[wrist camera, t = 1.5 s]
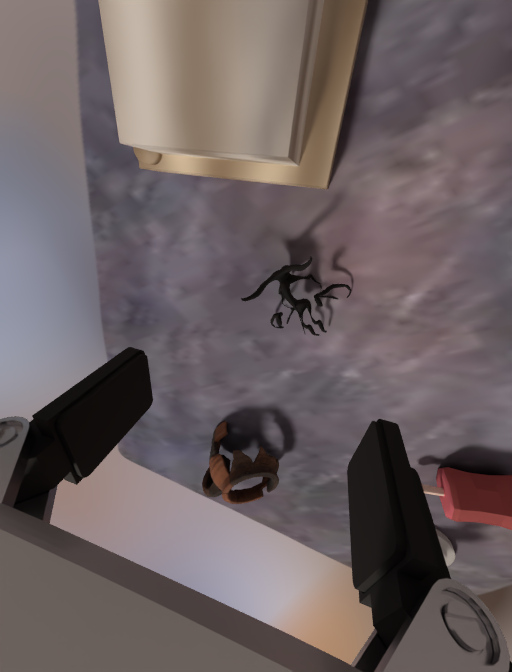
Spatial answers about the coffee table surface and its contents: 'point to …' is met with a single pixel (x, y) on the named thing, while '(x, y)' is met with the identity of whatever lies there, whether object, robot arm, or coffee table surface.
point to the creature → (284, 289)
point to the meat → (474, 496)
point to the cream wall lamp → (233, 84)
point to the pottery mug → (238, 472)
